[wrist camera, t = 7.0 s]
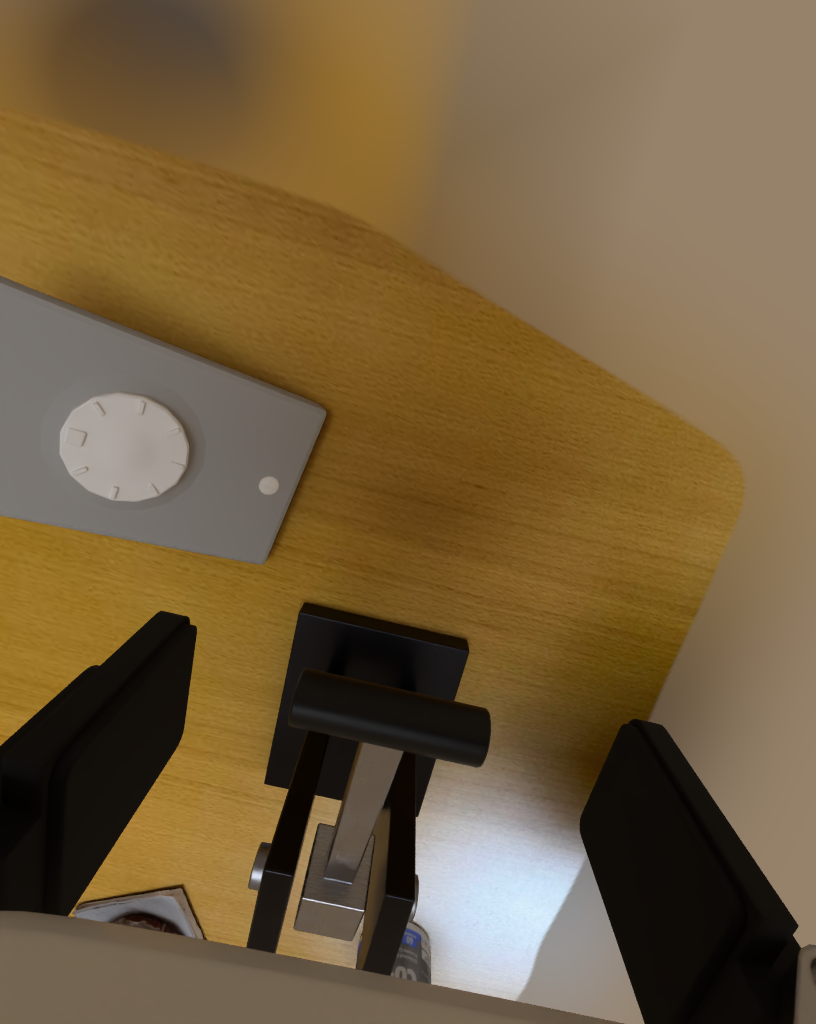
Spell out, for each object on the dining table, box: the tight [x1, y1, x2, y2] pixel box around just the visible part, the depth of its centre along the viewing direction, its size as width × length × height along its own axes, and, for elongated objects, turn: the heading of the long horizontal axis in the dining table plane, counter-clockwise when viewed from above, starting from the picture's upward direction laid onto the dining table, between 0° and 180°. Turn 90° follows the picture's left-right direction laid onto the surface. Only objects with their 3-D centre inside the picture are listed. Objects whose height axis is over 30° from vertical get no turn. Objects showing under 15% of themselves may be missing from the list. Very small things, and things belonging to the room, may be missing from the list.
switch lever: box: [288, 668, 491, 941], centre depth 15 cm, size 12×5×2 cm, turn 166°
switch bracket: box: [246, 603, 469, 976], centre depth 22 cm, size 11×9×12 cm
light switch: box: [0, 276, 326, 565], centre depth 21 cm, size 8×6×14 cm
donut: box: [72, 888, 203, 939], centre depth 31 cm, size 8×8×2 cm
